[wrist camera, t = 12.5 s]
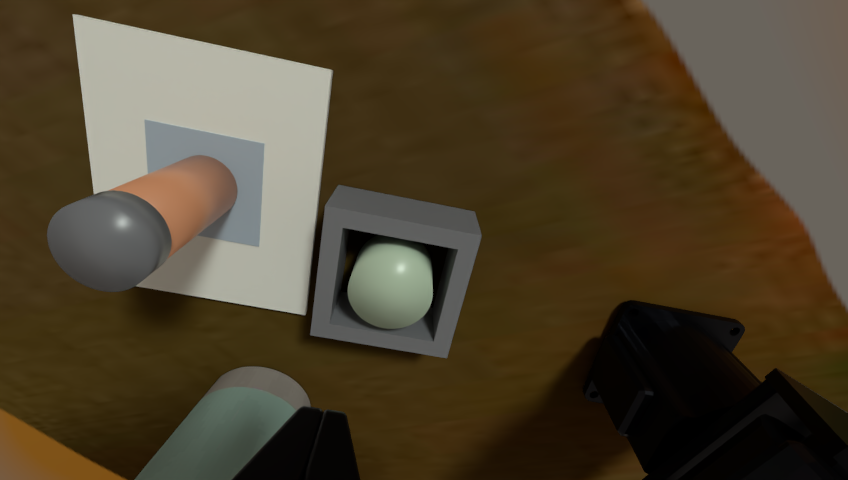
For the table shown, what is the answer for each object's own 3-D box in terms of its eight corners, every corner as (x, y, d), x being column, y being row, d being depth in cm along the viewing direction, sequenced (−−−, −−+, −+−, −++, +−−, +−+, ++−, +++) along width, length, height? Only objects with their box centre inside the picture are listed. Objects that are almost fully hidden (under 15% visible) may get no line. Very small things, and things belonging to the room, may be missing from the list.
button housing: (474, 211, 20) (481, 235, 17) (444, 323, 23) (447, 358, 20) (338, 184, 20) (325, 205, 17) (323, 301, 22) (310, 335, 20)
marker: (234, 155, 19) (140, 203, 12) (242, 218, 20) (159, 293, 13) (166, 152, 19) (34, 199, 12) (177, 215, 20) (62, 290, 13)
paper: (333, 70, 18) (331, 70, 17) (306, 312, 22) (305, 315, 22) (78, 15, 17) (71, 14, 16) (108, 277, 22) (103, 281, 21)
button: (439, 240, 20) (441, 264, 18) (424, 305, 21) (423, 335, 19) (362, 225, 19) (353, 248, 17) (351, 292, 21) (342, 321, 19)
